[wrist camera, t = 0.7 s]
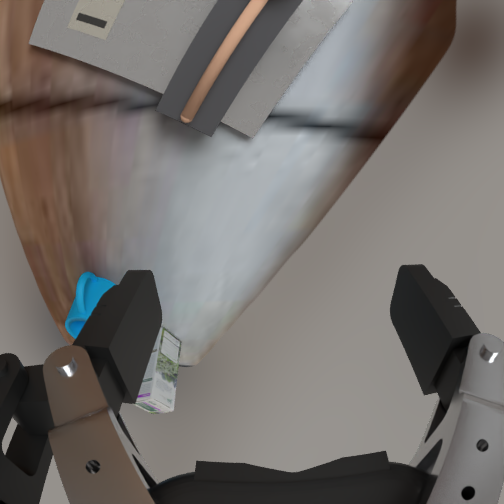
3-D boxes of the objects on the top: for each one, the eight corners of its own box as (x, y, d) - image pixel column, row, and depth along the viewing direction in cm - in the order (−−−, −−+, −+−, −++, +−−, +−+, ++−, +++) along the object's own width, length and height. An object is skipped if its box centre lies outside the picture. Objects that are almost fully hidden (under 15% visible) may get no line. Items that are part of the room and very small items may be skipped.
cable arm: (261, -55, 18) (263, -66, 15) (319, -24, 20) (329, -29, 17) (160, 104, 28) (149, 116, 25) (213, 130, 30) (209, 144, 27)
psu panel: (33, 42, 23) (27, 43, 22) (104, -98, 12) (100, -100, 12) (252, 135, 32) (252, 138, 32) (350, 1, 22) (353, 1, 21)
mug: (129, 311, 52) (118, 350, 46) (88, 306, 52) (75, 344, 45) (114, 260, 44) (97, 303, 38) (68, 257, 44) (48, 296, 38)
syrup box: (140, 333, 56) (126, 403, 46) (163, 325, 55) (151, 399, 44) (160, 348, 60) (150, 415, 49) (183, 341, 58) (174, 412, 47)
